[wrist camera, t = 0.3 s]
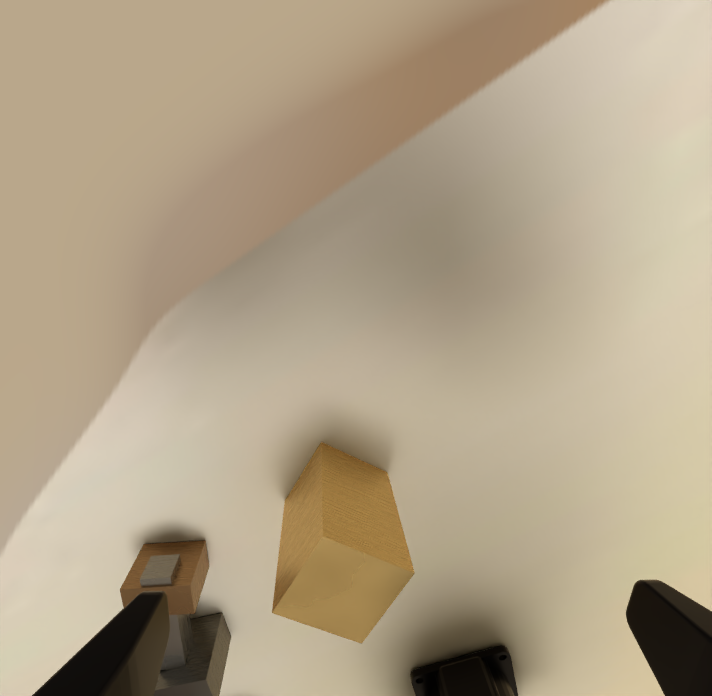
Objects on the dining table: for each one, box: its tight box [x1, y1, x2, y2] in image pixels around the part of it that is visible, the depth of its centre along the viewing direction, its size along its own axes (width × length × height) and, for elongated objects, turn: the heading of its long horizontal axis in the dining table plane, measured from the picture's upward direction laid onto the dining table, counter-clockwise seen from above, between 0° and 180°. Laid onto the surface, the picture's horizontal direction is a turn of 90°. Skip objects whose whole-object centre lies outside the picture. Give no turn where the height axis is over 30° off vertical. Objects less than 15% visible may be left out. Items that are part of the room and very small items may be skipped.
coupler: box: [272, 442, 414, 643], centre depth 19 cm, size 4×4×6 cm
